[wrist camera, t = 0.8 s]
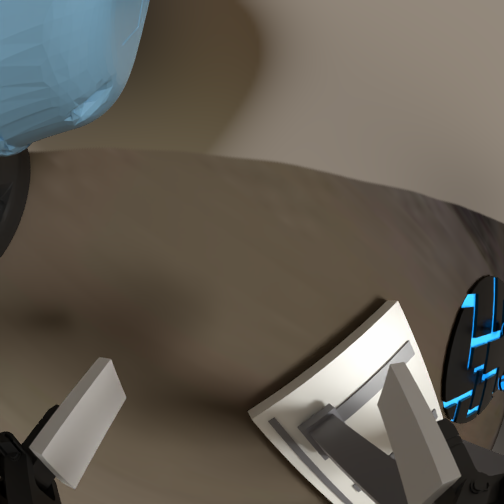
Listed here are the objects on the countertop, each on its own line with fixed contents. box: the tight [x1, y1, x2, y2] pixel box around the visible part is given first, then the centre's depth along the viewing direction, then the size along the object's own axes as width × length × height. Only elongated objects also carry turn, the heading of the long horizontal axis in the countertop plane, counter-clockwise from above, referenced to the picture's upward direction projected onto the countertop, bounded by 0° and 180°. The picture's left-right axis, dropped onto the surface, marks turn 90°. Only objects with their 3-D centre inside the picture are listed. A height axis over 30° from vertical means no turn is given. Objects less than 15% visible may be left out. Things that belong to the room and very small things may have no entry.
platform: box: [442, 276, 504, 424], centre depth 25 cm, size 22×22×6 cm
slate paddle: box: [462, 440, 504, 476], centre depth 12 cm, size 4×3×18 cm
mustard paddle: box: [297, 404, 435, 504], centre depth 10 cm, size 4×3×18 cm
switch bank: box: [248, 301, 443, 504], centre depth 21 cm, size 32×16×2 cm, turn 33°
